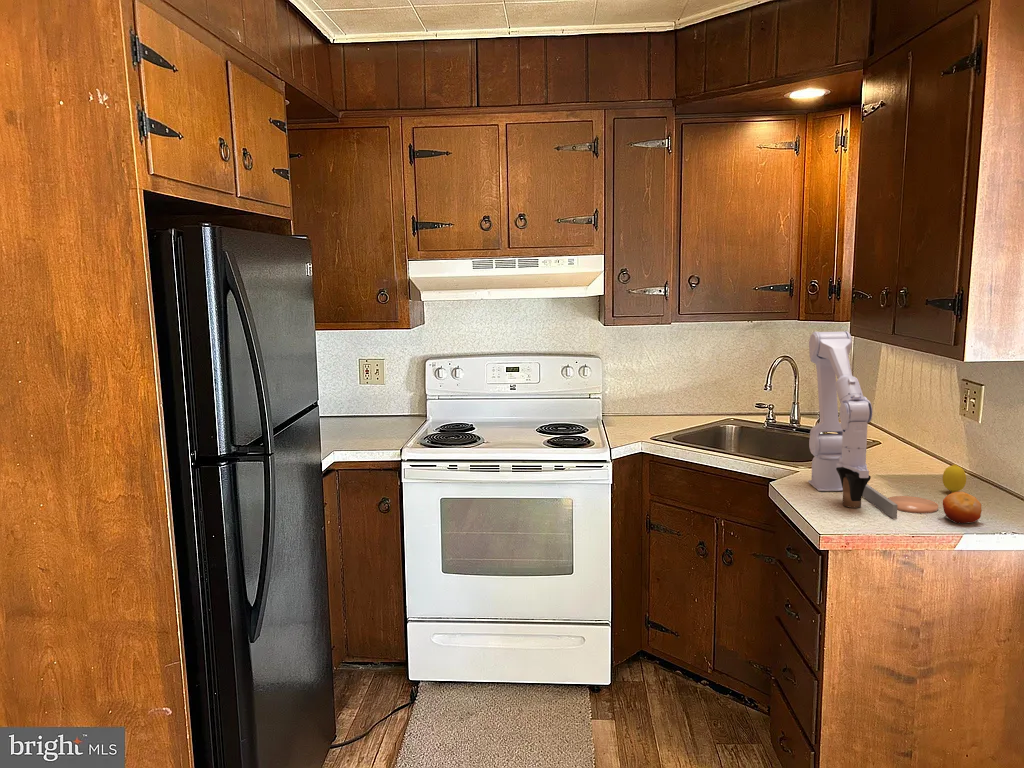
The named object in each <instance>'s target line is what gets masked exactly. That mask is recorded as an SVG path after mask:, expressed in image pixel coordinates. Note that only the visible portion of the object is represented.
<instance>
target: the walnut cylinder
mask: <svg viewBox="0 0 1024 768" xmlns="http://www.w3.org/2000/svg"><path fill="white" fill-rule="evenodd" d="M842 505H843V506H844V507H847V508H853V509H855V508H857V509H858V508H861V507H862V499H861V500H860V501H852V500H851V497H850V487H849V483H848V480H847V477H844V478H843V491H842Z"/></svg>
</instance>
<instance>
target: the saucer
mask: <svg viewBox="0 0 1024 768" xmlns="http://www.w3.org/2000/svg"><path fill="white" fill-rule="evenodd" d="M887 498H888V499H890V500H891V501H893V502H894V503H896V504H897V505H898V506H897V511H899V512H900V511H901V512H905V513H911V514H931V513H936V512H937V511H938V510H939V504H938V503H937V502H935V501H933V500H930V499H927V498H924V497H917V496H910V495H896V496H895V495H894V496H889V497H887Z"/></svg>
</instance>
